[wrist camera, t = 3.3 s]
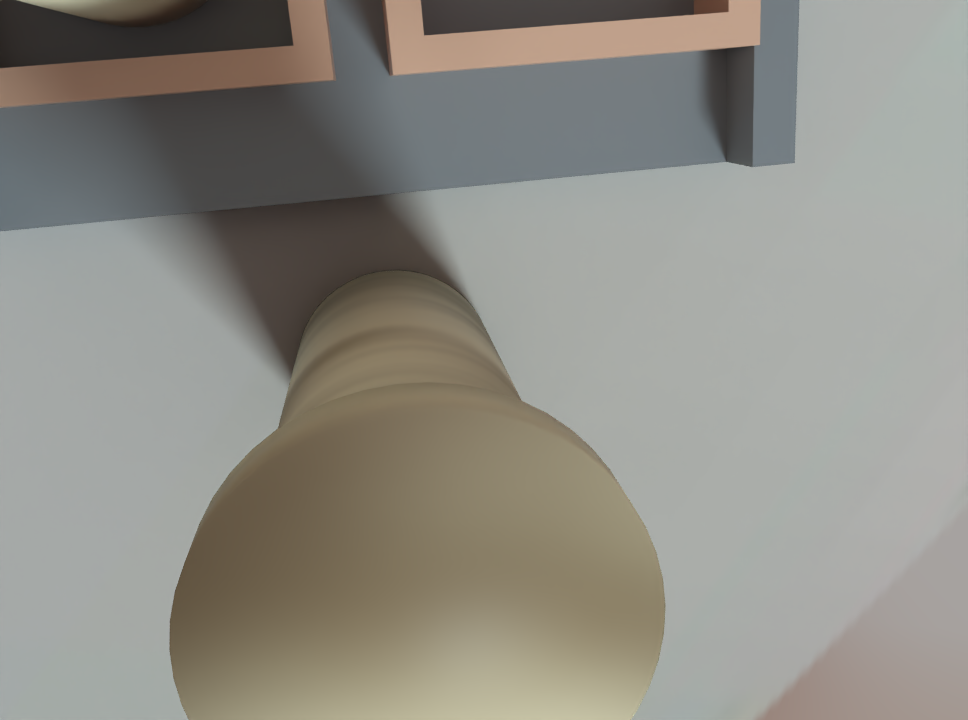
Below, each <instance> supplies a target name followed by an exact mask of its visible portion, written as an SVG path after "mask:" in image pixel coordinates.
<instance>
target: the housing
mask: <svg viewBox="0 0 968 720" xmlns="http://www.w3.org/2000/svg"><path fill="white" fill-rule="evenodd" d="M798 27H799V0H0V231H8V230H19V229H29V228H39V227H50V226H60V225H71V224H81V223H92V222H102V221H113V220H123V219H134V218H144V217H154V216H165V215H175V214H186V213H196V212H207V211H217V210H228V209H238V208H248V207H259V206H269V205H280V204H290V203H301V202H311V201H322V200H332V199H342V198H353V197H363V196H374V195H384V194H395V193H405V192H416V191H426V190H436V189H447V188H457V187H468V186H478V185H489V184H499V183H510V182H520V181H530V180H541V179H551V178H562V177H572V176H583V175H593V174H604V173H614V172H624V171H635V170H645V169H656V168H666V167H677V166H687V165H698V164H708V163H718V162H730V163H735V164H740V165H745V166H750V167H757V166H768V165H778V164H788V163H795V130H796V95H797V61H798Z"/></svg>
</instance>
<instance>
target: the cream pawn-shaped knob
mask: <svg viewBox="0 0 968 720" xmlns="http://www.w3.org/2000/svg"><path fill="white" fill-rule="evenodd" d="M664 622H665V597H664V587H663V578H662V574H661V570H660V566H659V562H658V558H657V554H656V551H655V548H654V546H653V543H652V541H651V539H650V536H649V534H648V531H647V529H646V527H645V525H644V523H643V522H642V520H641V518H640V517H639V515H638V513H637V512H636V510H635V508H634V507H633V505H632V504H631V502H630V500H629V499H628V497H627V496H626V494H625V493H624V491H623V489H622V488H621V486H620V485H619V483H618V482H617V480H616V479H615V477H614V475H613V474H612V472H611V471H610V469H609V468H608V467H607V466H606V464H605V463H604V462H603V461H602V460H601V458H600V457H599V456H598V455H597V454H596V452H595V451H594V450H593V449H592V448H591V447H590V446H589V445H588V444H587V443H586V442H584V441H583V440H582V439H581V438H580V437H579V436H578V435H577V434H576V433H574V432H573V431H572V430H571V429H570V428H568V427H567V426H565V425H564V424H562V423H561V422H559V421H558V420H556V419H555V418H553V417H552V416H550V415H549V414H547V413H545V412H543V411H541V410H539V409H537V408H535V407H533V406H531V405H529V404H527V403H525V402H523V401H521V399H520V397H519V395H518V393H517V391H516V389H515V387H514V385H513V383H512V381H511V379H510V377H509V375H508V373H507V371H506V369H505V367H504V365H503V363H502V361H501V359H500V357H499V355H498V353H497V351H496V349H495V347H494V345H493V343H492V341H491V339H490V337H489V335H488V333H487V331H486V329H485V327H484V325H483V323H482V321H481V319H480V317H479V316H478V314H477V313H476V311H475V309H474V308H473V307H472V306H471V305H470V303H469V302H468V301H467V300H466V299H465V298H464V297H463V296H462V295H461V294H459V293H458V292H457V291H456V290H454V289H453V288H452V287H450V286H449V285H447V284H445V283H443V282H441V281H439V280H438V279H436V278H433V277H430V276H427V275H424V274H420V273H416V272H411V271H400V270H393V271H381V272H375V273H371V274H367V275H364V276H361V277H358V278H356V279H354V280H352V281H349V282H347V283H346V284H344V285H343V286H341V287H339V288H338V289H336V290H335V291H334V292H333V293H331V294H330V295H329V296H328V297H327V298H326V299H325V300H324V301H323V302H322V303H321V304H320V305H319V306H318V308H317V309H316V310H315V312H314V313H313V315H312V316H311V318H310V320H309V322H308V324H307V326H306V328H305V330H304V333H303V336H302V339H301V342H300V346H299V350H298V353H297V357H296V361H295V365H294V369H293V373H292V376H291V380H290V384H289V388H288V392H287V396H286V400H285V403H284V407H283V411H282V415H281V419H280V423H279V426H278V429H277V430H276V431H274V432H273V433H272V434H271V435H269V436H268V437H267V438H266V439H264V440H263V441H262V442H261V443H260V444H258V445H257V446H256V447H255V448H253V449H252V450H251V451H250V452H249V453H248V454H247V455H246V457H245V458H244V459H243V460H242V461H241V462H240V463H239V464H238V465H237V466H236V467H235V468H234V469H233V470H232V471H231V473H230V474H229V475H228V477H227V478H226V480H225V481H224V482H223V484H222V485H221V487H220V488H219V490H218V491H217V492H216V494H215V495H214V497H213V498H212V500H211V502H210V504H209V506H208V508H207V510H206V512H205V514H204V516H203V518H202V520H201V522H200V524H199V527H198V529H197V532H196V534H195V537H194V540H193V542H192V545H191V547H190V550H189V553H188V555H187V558H186V560H185V563H184V566H183V569H182V572H181V575H180V578H179V581H178V584H177V587H176V590H175V595H174V600H173V606H172V612H171V618H170V656H171V663H172V670H173V677H174V681H175V684H176V688H177V691H178V694H179V697H180V701H181V704H182V706H183V709H184V711H185V713H186V715H187V717H188V719H189V720H631V719H632V717H633V716H634V714H635V713H636V711H637V710H638V708H639V706H640V704H641V702H642V700H643V698H644V696H645V694H646V692H647V690H648V688H649V686H650V683H651V680H652V677H653V674H654V672H655V669H656V666H657V663H658V660H659V655H660V650H661V645H662V640H663V635H664Z"/></svg>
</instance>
